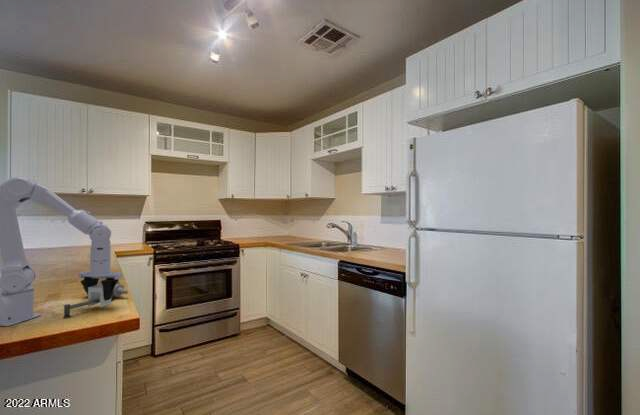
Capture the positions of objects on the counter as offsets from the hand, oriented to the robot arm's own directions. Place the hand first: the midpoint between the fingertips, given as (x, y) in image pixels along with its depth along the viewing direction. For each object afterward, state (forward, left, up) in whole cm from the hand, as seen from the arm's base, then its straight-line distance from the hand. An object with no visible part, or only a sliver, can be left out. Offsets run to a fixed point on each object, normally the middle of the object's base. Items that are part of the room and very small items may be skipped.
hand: (99, 299), depth 106 cm
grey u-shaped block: (0, 0, -2) cm, 2 cm away
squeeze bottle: (+13, +18, +1) cm, 22 cm away
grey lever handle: (0, +2, -3) cm, 4 cm away
